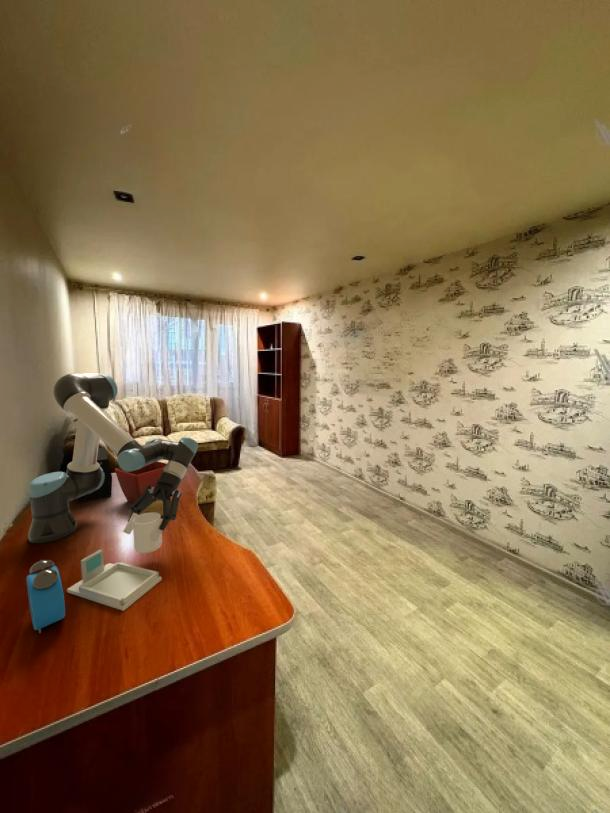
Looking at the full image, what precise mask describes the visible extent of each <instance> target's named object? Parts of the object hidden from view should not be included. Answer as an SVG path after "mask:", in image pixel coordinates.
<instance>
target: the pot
mask: <svg viewBox="0 0 610 813" xmlns="http://www.w3.org/2000/svg"><path fill="white" fill-rule="evenodd" d="M153 497H154V496H153ZM150 512H155V513H159V514H160V515H161V517H163V501H158V500H157V501H156V502H153V503H152V504H151V505H149V506H148V507H147V508H146V509H145V510H143V511H142V512H141V513H140V515H141V514H144V513H150Z"/></svg>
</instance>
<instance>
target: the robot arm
mask: <svg viewBox="0 0 610 813" xmlns="http://www.w3.org/2000/svg"><path fill="white" fill-rule="evenodd" d="M117 385H118V384H117V383H116V381H115V379H114V378H113V377H112V376H110V375H109V374H106V373H99V372H92V373H91V372H89V373H67V374H65V375H63V376H61V377H59V379H58V380H57V381H56V382H55V384H54V387H53V397H54V400H55V401H56V404H57V405H59V407H60V408H61V409H62V410H64V411H65V412H66V413H69V414H73V416H74V417H75V418H77V421H76V430H75V439H74V444H73V446H74V447H73V451H72V452H73V454H72V461H70V462H69V463H68V464H67V466H66V472H65V471H64V472H63V471H54V472H50V473H45V474H42V475H40V476H37V477H36V478H34V479H32V480H31V481H30V483H29V485H28V496H29V501H30V511H31V518H32V520H31V523H30V526H29V530H28V534H27V537H28V538H27V539H28V541H29V543H31V544H45V543H50V542H54V541H58V540H60V539H61V540H62V539H63V538H65V537H68V536H70V535H71V534H73V533H74V532H75V531H76V530H78V524H77V523H78V522H77V520H76V518H75V516H74V515H73V514H72V511H71V508H70V507H71V506H70V502H71V501H74V500H77V498H79V497H81V496H84V495H86V494H89V493H92V492H94V491H95V490H97V489H99V488H100V487H101V486H102V484H103V482H104V478H105V475H104V473H103V469H102V468H101V467H100V464H99V463H98V462H96V461H97V454H98V448H100V447H99V446H100V440H101V441H102V442H103V444H105V445H106V446H107V447H109V449H110V450H111V451H113V452H114V453H115V454H116V455H117V464H118V465H119V466H118V468H121V469H122V470H124V471H127V472H130V471H134V470H138V469H141V468H142V467H144V466H147V465H149V464H152V463H154V462H157V461H158V462H160V461H168V462H167V465H166V466H165V468H164V470H163V473H161V475H160V477H159V479H158V481H157V485H156V486H155V487H151V486H150V485H149V486H148V487H147V488H146V490H145V492H144V493H143V494H142V495H141V496H140V497H139V498H138V499H137V500H136V501H135V502H134V503H132V504H131V506H130V507H129V510H130V511H131V513H130V516H129V517H128V520H127V523H126V525H125V527H124V529H123V530H122V532H123V533H125V534H126V535H131V533H132V531H133V519H134V518H135V517H137V516H139V515H140V513H141V512H142V511H143V510H145V509H146V508H147V507H148V506H149V505H151V504H152V503H153V502H156V501H157V500H158V501H163V515H162V516H161V518H160V520H159V522H158V524H157V526H156V528H155V530H154V532H153V534H152V536H151V539H153V540H155V541H157V540H158V538H159V536H160V534H161V532H163V531H165V530H166V527H167V525H168V523H169V522H170V521H175V520H176V519H177V513H178V508H179V501H180V498H181V496H182V492H181V491H179V490H178V488H179V487H180V484H181V482H182V480H183V478H184V477H185V475H186V472H187V471H188V468H189V466H190V464H192V463H191V462H192V461H193V460H194V459H193V458H194V457H195V456H196V453H197V450H198V448H199V444H198V442H197V441H196V440H195V439H193V438H191V437H187V436H183V437H181V438H180V439H179V440H178V441H171V440H167V439H162V438H155V437H152V438H149V439H148V440H147V441H146V442H145V443H144V444H140V443H139V442H138V441H137V440H136V439H135V438H133V437H132V435H131V434H129V433H128V432H127V431H126V430H125V429H124V428H123V427H122V426H121V425H119V423H117V422H116V420H114V419H113V418H112V417H111V416H110V415H108V414H107V413H106V411H105V410H107V409H109V407H110V406H109V405H110V401H113V400H114V399H115V398H116V397H117V394H118V386H117ZM153 496H154V497H153ZM171 497H172V498H171Z"/></svg>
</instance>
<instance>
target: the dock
mask: <svg viewBox="0 0 610 813" xmlns="http://www.w3.org/2000/svg"><path fill="white" fill-rule="evenodd" d="M103 552H104V551H103V549H98V550H96V551H94V552H93V553H91V554H89V555H88V556H86V557H84V558H82V559H80V567H81V569H80V570H81V577H82V579H81V580H79V581H78V582H76V583H74V584H73V585H71V586H70V587H68V588H66V592H67V593H68V594H71V595H74V596H76V597H80V598H83V599H86V600H89V601H92V602H95V603H98V604H101V605H104V606H107V607H111V608H114V609H116V610H121V611H122V612H124V611H125V610H127V609H128V608H129V607H130V606H132V605H133V604H134V603H135V602H136V601H138V600H139V599H140V598H141V597H142V596H144V595H145V594H146V593H147V592H149V591H150V590H152V589H153V587H155V586H156V585H157V584H158V583H160V582H161V581H162V579H163V578H162V576H160V574H159V573H160V572H159V571H156V570H151V569H147V568H144V567H140V566H136V565H134V564H133V565H132V564H129V563H125V562H121V561H117V562H115V563H111V562H109V563H106V564H104V553H103Z"/></svg>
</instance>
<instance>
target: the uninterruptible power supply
mask: <svg viewBox="0 0 610 813" xmlns="http://www.w3.org/2000/svg"><path fill="white" fill-rule="evenodd" d="M96 462H98V463H99V464H100V467H101V468H102V469H103V473H104V475H105V478H104V482H103V484H102V486H101V487H100V488H99V489H97V490H95V491H94V492H92V493H89V494H86V495H84V496H81V497H79V498H76V502H77V504H81V503H82V504H83V503H86V502H90V501H96V500H102V499H106V498H111V497H112V493H113V492H112V490H113V488H112V487H113V484H112V483H113V474H112V471H111V466H110V462H109V459H108V454H107V451H106V448H105V447H103V446H102V447H98V454H97V461H96Z"/></svg>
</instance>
